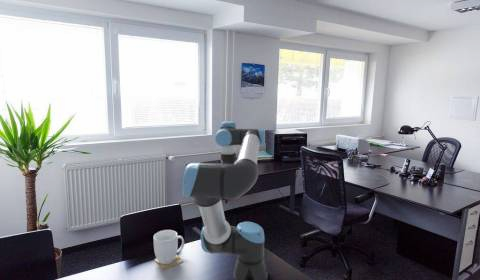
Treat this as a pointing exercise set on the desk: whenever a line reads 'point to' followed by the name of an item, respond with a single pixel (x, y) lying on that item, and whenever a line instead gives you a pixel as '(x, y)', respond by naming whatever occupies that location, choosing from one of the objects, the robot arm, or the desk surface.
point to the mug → (166, 246)
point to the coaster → (166, 266)
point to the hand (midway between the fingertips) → (228, 193)
